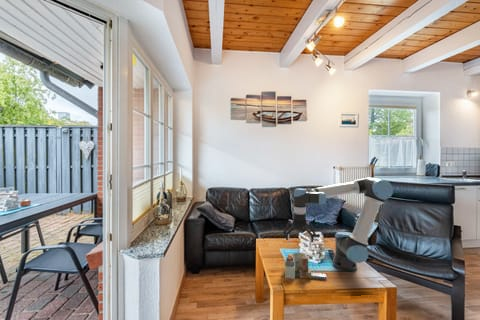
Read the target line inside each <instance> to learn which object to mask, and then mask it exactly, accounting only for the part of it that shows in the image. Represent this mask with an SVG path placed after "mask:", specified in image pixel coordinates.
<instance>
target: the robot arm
mask: <svg viewBox="0 0 480 320" xmlns="http://www.w3.org/2000/svg"><path fill="white" fill-rule="evenodd" d="M393 193H394V187H393V186H392V184H391V183H390V182H389V181H388V180H385V179H383V178H377V177H372V176H371V177H370V176H369V177H363V178H358V179H353V180H352V181H350V182H344V183H337V184H331V185H326V186H319V187H314V188H310V187H307V188H303V187H302V188H301V187H299V188H294V190H293V220H292V219H290V218H289V219H288V222H287V224H286V226H285V228H284V229H283V233H282V234H283V235H285V239H286V240H285V241H287V246H288V247H289V246H290V234H291V233H292V232H293V230H294V229H295V228H297V229H298V228H299V229H304V230H305V231H306V232H307V234H308V235H309V248H310V249H312V243H313V242H314V238H316V237H317V234H316V232H315V230H314V227H313V225H312V221H311V220H308V221H307V205H324V204H326V201H327V198H332V197H336V196H343V195H350V194H355V195H356V194H357V195H358V194H359V195H360V194H363V196H364V202H363V204H362V208H361V210H360V212H359V214H358V215H359V216H358V218H357V220H356V222H355V226H354V228H353V230H352V232H348V231H336V232H335V236H334V237H335V241H334V242H335V243H334V244H335V245H334V246H335V250H334V251H335V252H334V256H333V259H332V266H333V267H334V268H336V269H338V270H342V271H345V272H353V271H356V270H357V269H358V266H357V264H361V263H364V262H365V261H366V260H367V259H368V258H369V251H368V249H367V248H368V246H369V242H368V238H369V236H370V232H371V231H372V228H373V225H374V223H375V220H376V218H377V215H378V211H379V209H380V207H381V205H383V204H385V203H386V200H388V199H390V198H391V197H392V195H393ZM292 223H293V225H292V226H291V227H290V225H291V224H292ZM306 225H308V226H309V228H310V229H309V228H308V227H307V226H306ZM289 227H290V228H289ZM310 230H311V231H310Z"/></svg>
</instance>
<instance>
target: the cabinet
mask: <svg viewBox="0 0 480 320" xmlns="http://www.w3.org/2000/svg"><path fill="white" fill-rule="evenodd" d="M295 271H296V270H295V261H294V258H292V260H291V261H289V260H288V256H286V257H285V263H284V278H285V279H292V280H295V279H296V277H295Z"/></svg>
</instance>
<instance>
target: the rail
mask: <svg viewBox="0 0 480 320" xmlns="http://www.w3.org/2000/svg"><path fill="white" fill-rule="evenodd" d="M295 278H300V273H299V271H296V270H295ZM311 279H313V280H314V279H315V280H322V281H323V280H324V281H326V280H327V274H326V273H318V272H317V273H316V272H311Z"/></svg>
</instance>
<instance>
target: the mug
mask: <svg viewBox="0 0 480 320" xmlns="http://www.w3.org/2000/svg"><path fill="white" fill-rule="evenodd" d="M302 256H307V255H306V254H305V253H303V252H294V253H293V254H292V258H294V261H295V271H299V267H302Z"/></svg>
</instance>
